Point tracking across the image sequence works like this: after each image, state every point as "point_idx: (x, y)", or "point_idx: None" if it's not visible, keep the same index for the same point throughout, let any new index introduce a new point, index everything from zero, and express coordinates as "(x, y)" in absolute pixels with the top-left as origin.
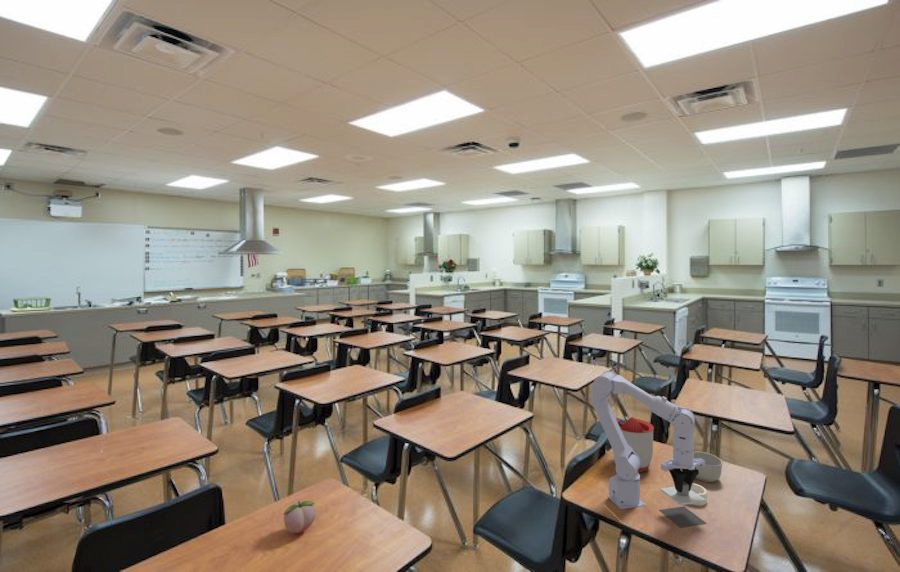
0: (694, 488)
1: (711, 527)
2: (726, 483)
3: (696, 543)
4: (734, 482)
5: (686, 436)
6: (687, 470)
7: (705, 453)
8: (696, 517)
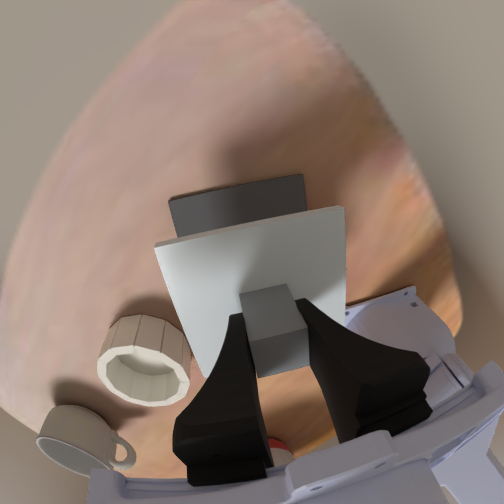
0: (130, 385)
1: (160, 183)
2: (41, 394)
3: (290, 84)
4: (26, 393)
5: None
6: (266, 444)
7: (71, 468)
8: None
